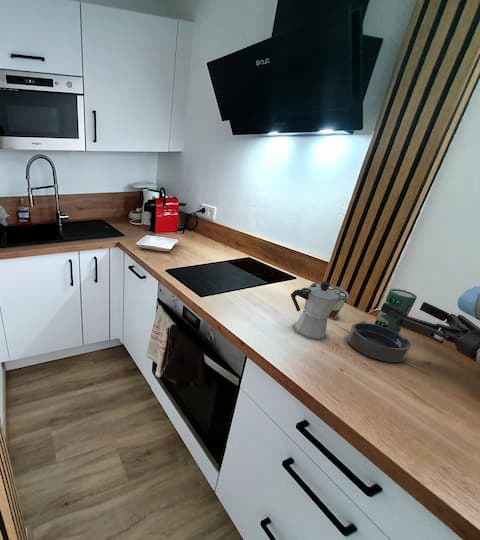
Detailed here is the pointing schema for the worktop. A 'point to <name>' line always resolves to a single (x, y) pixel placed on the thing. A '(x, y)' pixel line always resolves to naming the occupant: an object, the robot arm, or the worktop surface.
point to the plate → (157, 243)
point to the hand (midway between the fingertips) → (402, 306)
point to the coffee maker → (315, 310)
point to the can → (399, 301)
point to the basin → (378, 342)
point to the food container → (340, 303)
